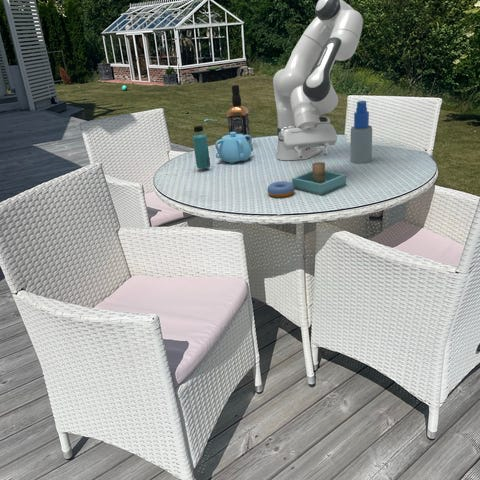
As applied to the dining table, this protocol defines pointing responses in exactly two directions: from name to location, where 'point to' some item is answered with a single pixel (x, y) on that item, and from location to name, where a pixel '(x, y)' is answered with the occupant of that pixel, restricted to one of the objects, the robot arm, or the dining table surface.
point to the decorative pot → (234, 148)
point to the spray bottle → (361, 136)
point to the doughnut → (281, 189)
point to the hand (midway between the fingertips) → (313, 156)
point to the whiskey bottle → (238, 115)
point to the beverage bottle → (201, 148)
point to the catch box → (330, 184)
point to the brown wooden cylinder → (318, 172)
